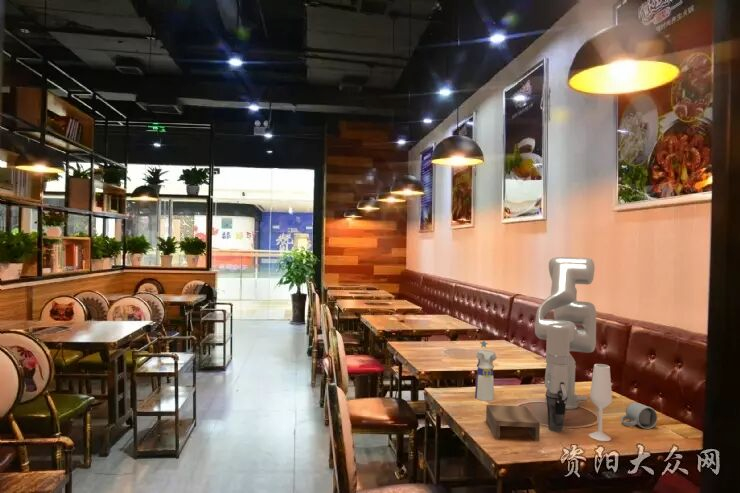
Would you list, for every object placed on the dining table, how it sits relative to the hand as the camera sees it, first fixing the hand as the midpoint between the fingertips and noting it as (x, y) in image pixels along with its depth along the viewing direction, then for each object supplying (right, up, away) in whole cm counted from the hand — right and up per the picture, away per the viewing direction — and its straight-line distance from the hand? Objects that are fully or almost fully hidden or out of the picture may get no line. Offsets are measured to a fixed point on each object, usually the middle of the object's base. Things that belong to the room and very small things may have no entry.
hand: (556, 409), depth 166 cm
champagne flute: (+13, -7, -6) cm, 16 cm away
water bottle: (-17, -7, +33) cm, 37 cm away
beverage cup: (0, -7, 0) cm, 7 cm away
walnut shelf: (-16, -6, -3) cm, 18 cm away
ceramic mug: (+32, -8, +6) cm, 33 cm away
